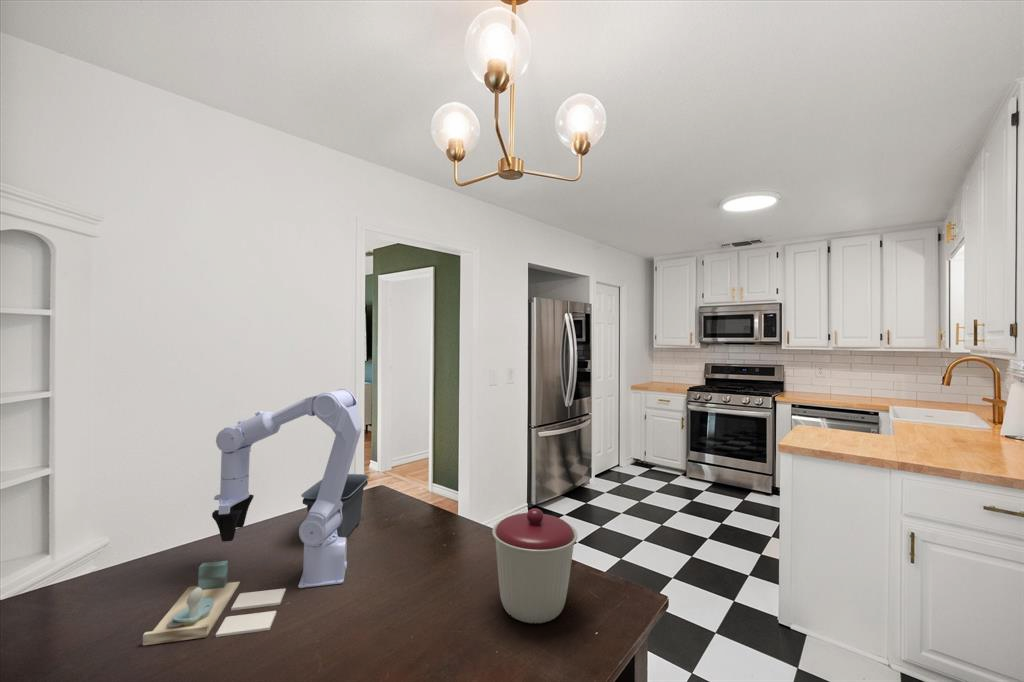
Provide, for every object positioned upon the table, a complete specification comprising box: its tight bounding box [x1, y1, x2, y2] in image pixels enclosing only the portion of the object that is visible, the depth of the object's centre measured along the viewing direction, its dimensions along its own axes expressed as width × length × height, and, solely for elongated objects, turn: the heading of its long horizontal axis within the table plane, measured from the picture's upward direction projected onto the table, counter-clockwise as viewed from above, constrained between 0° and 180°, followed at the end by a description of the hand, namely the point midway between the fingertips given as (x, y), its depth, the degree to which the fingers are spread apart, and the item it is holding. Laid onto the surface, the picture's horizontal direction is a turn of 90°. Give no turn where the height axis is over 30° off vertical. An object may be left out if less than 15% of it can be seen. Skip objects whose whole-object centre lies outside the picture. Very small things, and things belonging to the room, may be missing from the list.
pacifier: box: [167, 587, 214, 627], centre depth 86 cm, size 7×6×6 cm
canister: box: [491, 508, 578, 624], centre depth 94 cm, size 18×18×21 cm
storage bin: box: [301, 473, 370, 539], centre depth 128 cm, size 21×16×14 cm
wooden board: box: [142, 560, 241, 646], centre depth 89 cm, size 10×19×5 cm, turn 16°
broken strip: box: [215, 588, 286, 638], centre depth 90 cm, size 9×14×1 cm, turn 16°
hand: (233, 533), depth 104 cm, fingers open, 7 cm apart
